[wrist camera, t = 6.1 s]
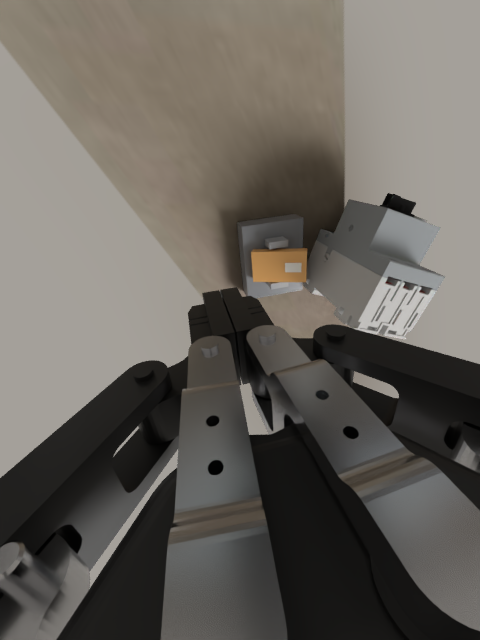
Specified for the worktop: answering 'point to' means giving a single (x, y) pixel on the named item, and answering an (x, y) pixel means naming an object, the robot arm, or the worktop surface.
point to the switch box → (268, 236)
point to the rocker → (279, 265)
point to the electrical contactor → (375, 267)
